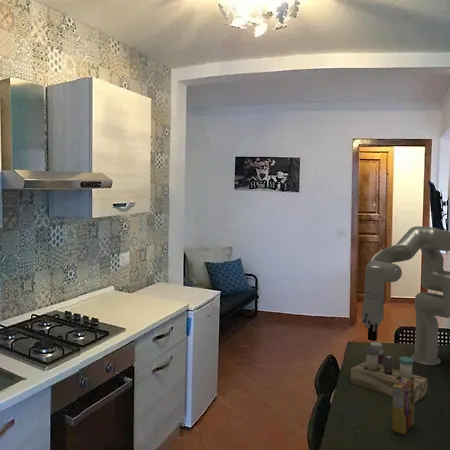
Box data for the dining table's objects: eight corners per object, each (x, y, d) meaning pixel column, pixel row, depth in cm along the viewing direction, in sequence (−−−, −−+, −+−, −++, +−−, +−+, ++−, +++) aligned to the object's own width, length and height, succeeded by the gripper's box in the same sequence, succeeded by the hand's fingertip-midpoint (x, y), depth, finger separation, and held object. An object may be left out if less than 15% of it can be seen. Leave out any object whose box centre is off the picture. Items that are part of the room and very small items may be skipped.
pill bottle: (386, 370, 209) (387, 344, 208) (376, 372, 205) (377, 347, 204) (374, 365, 214) (375, 340, 213) (365, 368, 210) (366, 343, 210)
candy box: (400, 420, 164) (402, 377, 162) (413, 424, 161) (415, 380, 160) (390, 430, 157) (392, 385, 156) (404, 435, 154) (405, 389, 153)
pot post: (386, 371, 191) (387, 354, 191) (393, 373, 189) (394, 356, 189) (382, 373, 189) (383, 356, 189) (390, 375, 187) (390, 358, 187)
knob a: (369, 365, 198) (369, 346, 197) (381, 369, 194) (381, 349, 194) (362, 368, 194) (363, 349, 194) (374, 372, 191) (375, 352, 190)
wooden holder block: (365, 374, 203) (365, 360, 203) (426, 393, 185) (427, 378, 184) (350, 382, 195) (351, 368, 194) (413, 403, 176) (414, 387, 176)
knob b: (402, 375, 188) (402, 355, 187) (415, 379, 184) (415, 358, 184) (395, 378, 184) (396, 358, 184) (409, 382, 181) (409, 362, 180)
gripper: (374, 291, 200) (372, 334, 201) (356, 296, 189) (354, 341, 190) (391, 294, 194) (389, 338, 196) (373, 299, 184) (371, 346, 185)
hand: (372, 340), depth 193 cm, fingers closed
